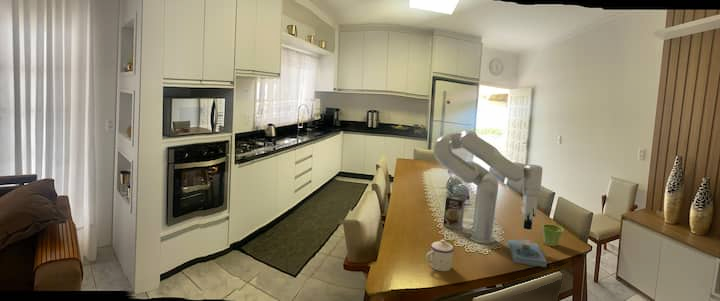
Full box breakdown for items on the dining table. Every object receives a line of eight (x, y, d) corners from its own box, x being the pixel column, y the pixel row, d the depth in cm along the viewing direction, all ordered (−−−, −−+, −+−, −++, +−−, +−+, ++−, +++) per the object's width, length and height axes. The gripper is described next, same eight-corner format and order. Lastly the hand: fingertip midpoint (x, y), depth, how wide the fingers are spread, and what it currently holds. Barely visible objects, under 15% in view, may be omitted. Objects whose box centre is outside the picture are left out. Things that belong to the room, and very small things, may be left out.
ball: (521, 249, 173) (522, 240, 172) (519, 245, 177) (520, 236, 176) (531, 250, 172) (532, 241, 171) (529, 246, 176) (530, 237, 175)
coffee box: (442, 226, 203) (445, 197, 200) (445, 222, 208) (448, 194, 205) (459, 230, 199) (462, 200, 196) (462, 226, 204) (465, 197, 201)
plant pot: (558, 250, 181) (561, 232, 179) (537, 244, 186) (540, 227, 185) (562, 244, 188) (565, 227, 187) (542, 238, 194) (544, 222, 192)
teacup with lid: (443, 260, 163) (445, 234, 161) (456, 270, 155) (459, 243, 153) (419, 264, 159) (421, 237, 156) (431, 274, 150) (434, 247, 148)
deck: (507, 244, 184) (508, 239, 184) (536, 248, 181) (536, 243, 181) (513, 262, 165) (514, 256, 165) (546, 267, 162) (546, 261, 162)
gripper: (520, 186, 185) (516, 222, 188) (525, 194, 171) (521, 233, 174) (536, 187, 183) (532, 224, 187) (543, 196, 169) (539, 235, 172)
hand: (527, 228), depth 180 cm, fingers closed
